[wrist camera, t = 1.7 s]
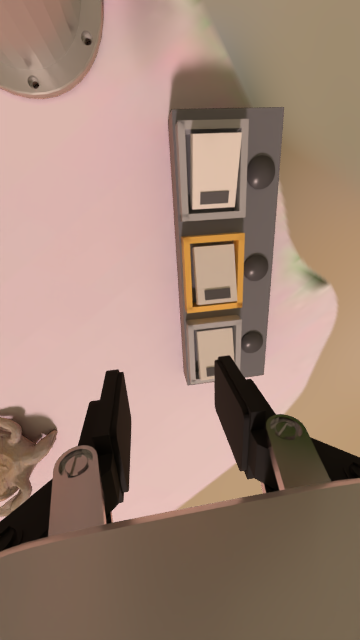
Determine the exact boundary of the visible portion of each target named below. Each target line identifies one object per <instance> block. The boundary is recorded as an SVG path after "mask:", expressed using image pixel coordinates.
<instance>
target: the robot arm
mask: <svg viewBox="0 0 360 640" xmlns="http://www.w3.org/2000/svg"><path fill="white" fill-rule="evenodd" d="M102 26H103V8H102V0H0V88H1V89H3V90H5V91H7V92H9V93H12V94H14V95H18V96H22V97H26V98H33V99H46V98H51V97H56V96H59V95H61V94H63V93H66V92H68V91H70V90H71V89H72V88H74V87H75V86H76V85H77V84H79V83H80V82H81V81H82V80H83V78H84V77H85V76H86V74H87V73H88V72H89V70H90V69H91V67H92V65H93V62H94V60H95V58H96V56H97V53H98V49H99V45H100V42H101V37H102ZM88 41H89V42H91V45H86V42H88ZM35 84H39V87H38V88H37V89H35ZM214 374H215V408H216V412H217V414H218V417H219V419H220V422H221V425H222V427H223V430H224V432H225V435H226V437H227V440H228V442H229V445H230V447H231V450H232V452H233V455H234V458H235V460H236V463H237V465H238V468H239V470H240V471H244V472H245V474H246V477H247V479H252V478H255V479H257V480H259V481H260V482H261V486H262V491H263V494H259V495H253V496H248V497H242V498H237V499H232V500H227V501H222V502H217V503H212V504H206V505H201V506H196V507H190V508H186V509H181V510H175V511H170V512H165V513H160V514H155V515H149V516H144V517H139V518H134V519H129V520H124V521H119V522H114V523H113V518H112V512H111V511H112V510H113V509H114V508H115V507H116V506H117V505H118V504H119V503H122V502H123V498H124V492H128V491H129V471H130V446H131V414H130V408H129V402H128V396H127V390H126V384H125V378H124V373H123V372H119V370H110V371H106V374H105V379H104V384H103V388H102V393H101V398H100V400H97V401H91V402H90V403H89V406H88V410H87V414H86V417H85V421H84V425H83V429H82V432H81V436H80V440H79V443H78V446H76V447H74V448H71V449H69V450H68V451H66V452H65V453H63V454H62V455H61V456H60V458H59V459H58V460H57V462H56V463H55V466H54V470H53V479H52V480H50V481H49V482H48V483H47V484H45V485H44V486H43V487H42V488H41V489H39V490H38V491H37V492H36V493H35V494H33V495H32V496H31V497H30V498H28V499H27V500H26V501H25V502H24V503H22V504H21V505H20V506H19V507H17V508H16V509H15V510H14V511H13V512H11V513H10V514H9V515H8V516H7V517H5V518H4V519H3V520H2V521H0V640H360V457H357V456H355V455H352V454H350V453H347V452H345V451H343V450H340V449H338V448H335V447H332V446H330V445H328V444H325V443H323V442H320V441H318V440H315V439H313V438H311V437H310V436H309V434H308V432H307V430H306V428H305V427H304V425H303V424H302V423H301V422H300V421H299V420H297V419H296V418H294V417H291V416H288V415H283V414H278V415H276V414H275V413H274V411H273V410H272V408H271V407H270V405H269V404H268V402H267V401H266V399H265V398H264V397H263V395H262V394H261V392H260V391H259V389H258V388H257V386H256V385H255V383H254V382H253V381H252V380H251V379H247V380H246V379H245V378H244V376H243V374H242V373H241V371H240V370H239V368H238V367H237V365H236V364H235V362H234V361H233V359H232V358H231V356H230V355H227V356H219V357H218V360H215V361H214Z"/></svg>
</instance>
